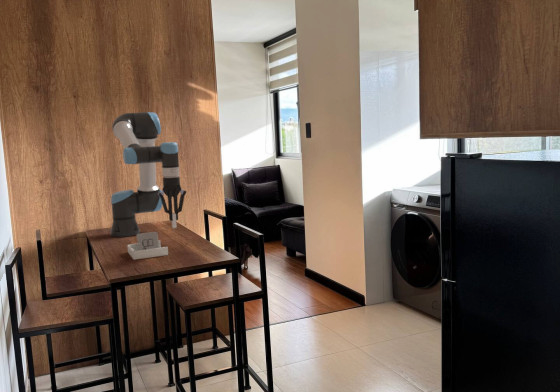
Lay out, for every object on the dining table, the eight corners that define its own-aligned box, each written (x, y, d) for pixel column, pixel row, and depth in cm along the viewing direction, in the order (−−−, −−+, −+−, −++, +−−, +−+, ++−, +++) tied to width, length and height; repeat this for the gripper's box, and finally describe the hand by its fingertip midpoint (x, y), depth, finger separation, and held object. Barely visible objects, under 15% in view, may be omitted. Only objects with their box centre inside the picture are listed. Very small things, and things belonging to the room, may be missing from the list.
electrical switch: (138, 255, 239) (136, 234, 238) (137, 253, 244) (135, 233, 243) (159, 252, 242) (158, 232, 242) (157, 251, 247) (156, 231, 247)
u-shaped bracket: (127, 252, 245) (127, 244, 244) (160, 247, 251) (160, 240, 250) (133, 259, 230) (133, 251, 230) (168, 254, 236) (167, 247, 236)
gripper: (158, 178, 235) (161, 230, 239) (187, 176, 241) (190, 227, 244) (155, 176, 242) (158, 227, 246) (183, 174, 247) (186, 224, 251)
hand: (174, 227), depth 245 cm, fingers closed
